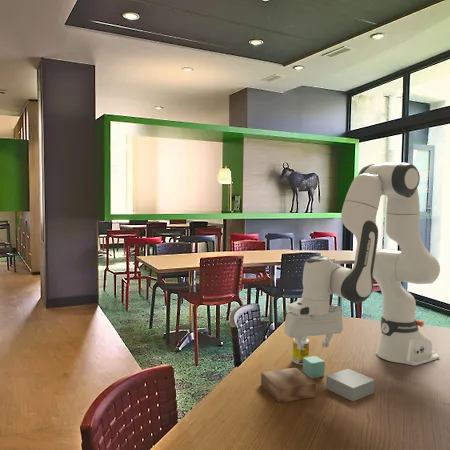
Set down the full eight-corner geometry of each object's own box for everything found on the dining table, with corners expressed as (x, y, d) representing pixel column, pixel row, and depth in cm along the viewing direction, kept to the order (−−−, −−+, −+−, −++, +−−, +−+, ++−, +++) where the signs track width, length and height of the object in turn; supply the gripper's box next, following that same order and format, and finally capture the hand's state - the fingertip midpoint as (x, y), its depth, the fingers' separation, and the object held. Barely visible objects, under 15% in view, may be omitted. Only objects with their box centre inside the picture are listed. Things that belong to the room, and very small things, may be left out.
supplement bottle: (300, 366, 150) (301, 337, 149) (289, 361, 154) (289, 332, 153) (311, 363, 153) (312, 334, 152) (300, 358, 157) (301, 330, 156)
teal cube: (315, 370, 147) (316, 355, 147) (324, 376, 142) (324, 361, 142) (302, 372, 145) (303, 357, 145) (310, 378, 141) (311, 363, 140)
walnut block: (295, 379, 139) (295, 367, 139) (315, 396, 128) (316, 383, 128) (260, 384, 135) (261, 372, 134) (279, 402, 124) (279, 389, 123)
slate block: (347, 380, 139) (347, 368, 139) (374, 392, 131) (374, 379, 131) (325, 388, 133) (326, 375, 133) (352, 401, 125) (353, 388, 125)
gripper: (336, 302, 149) (334, 342, 149) (283, 305, 141) (281, 347, 142) (347, 306, 143) (345, 348, 143) (292, 310, 135) (290, 354, 136)
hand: (313, 348), depth 143 cm, fingers open, 8 cm apart
